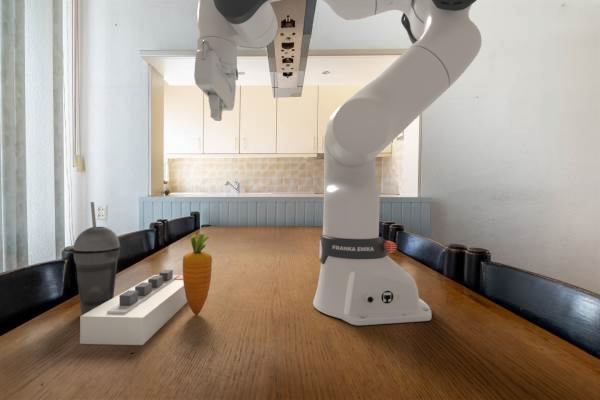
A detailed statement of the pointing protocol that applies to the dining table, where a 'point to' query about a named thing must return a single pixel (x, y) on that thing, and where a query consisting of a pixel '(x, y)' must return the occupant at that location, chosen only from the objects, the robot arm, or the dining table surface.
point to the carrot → (197, 274)
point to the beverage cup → (96, 264)
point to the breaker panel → (135, 312)
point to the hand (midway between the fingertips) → (216, 119)
